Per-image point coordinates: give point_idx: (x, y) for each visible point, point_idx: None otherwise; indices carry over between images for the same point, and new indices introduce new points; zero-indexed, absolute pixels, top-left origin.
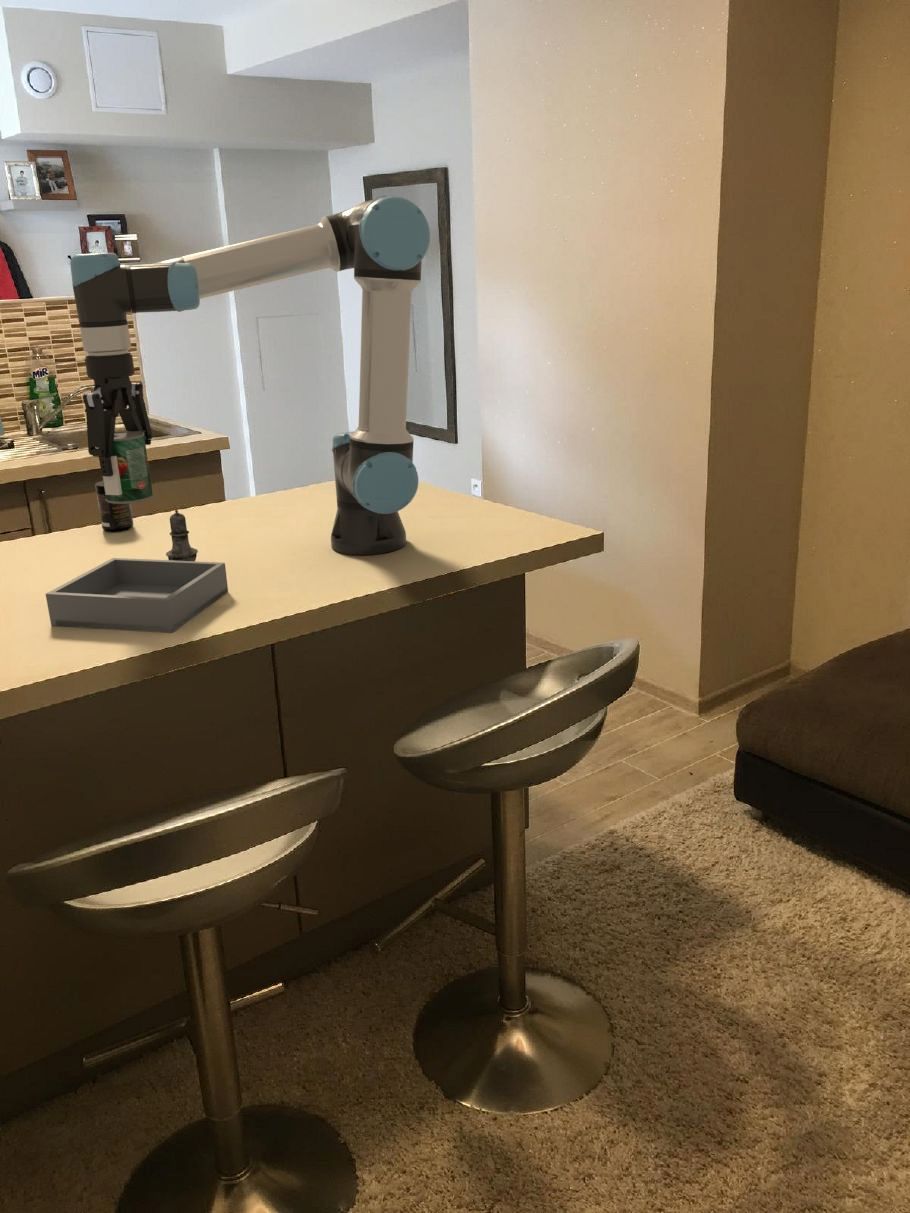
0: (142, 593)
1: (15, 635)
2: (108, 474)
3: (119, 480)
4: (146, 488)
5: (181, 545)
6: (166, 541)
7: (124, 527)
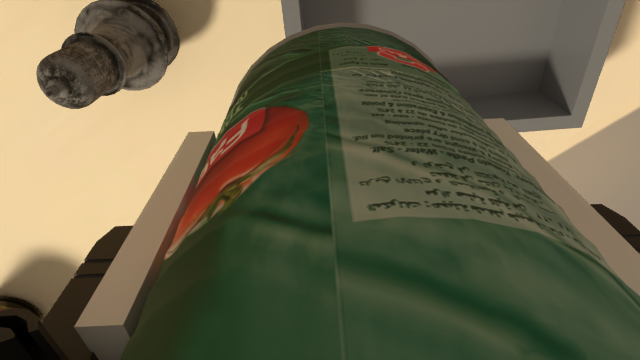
0: (367, 4)
1: (589, 127)
2: (617, 218)
3: (520, 161)
4: (360, 40)
5: (125, 39)
6: (6, 201)
7: (12, 303)
